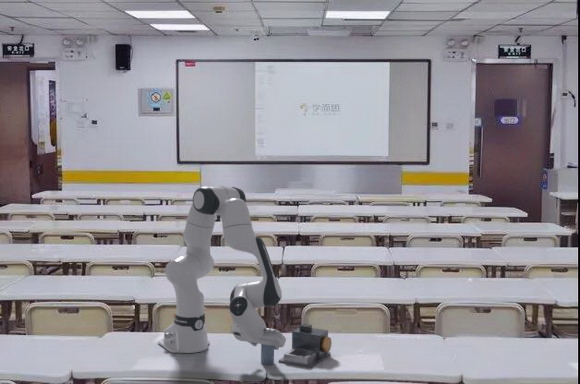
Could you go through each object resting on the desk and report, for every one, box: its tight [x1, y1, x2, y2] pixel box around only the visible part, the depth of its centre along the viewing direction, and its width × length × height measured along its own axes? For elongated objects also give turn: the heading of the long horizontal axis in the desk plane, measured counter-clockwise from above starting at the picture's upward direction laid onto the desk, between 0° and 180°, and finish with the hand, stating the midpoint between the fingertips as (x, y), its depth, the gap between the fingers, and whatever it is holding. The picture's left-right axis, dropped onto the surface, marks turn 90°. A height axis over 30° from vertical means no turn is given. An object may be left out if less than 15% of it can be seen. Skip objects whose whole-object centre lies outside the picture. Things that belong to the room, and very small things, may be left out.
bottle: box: [260, 344, 275, 366], centre depth 287 cm, size 5×5×12 cm
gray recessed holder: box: [278, 323, 332, 368], centre depth 293 cm, size 15×18×12 cm
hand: (266, 346), depth 285 cm, fingers open, 8 cm apart
